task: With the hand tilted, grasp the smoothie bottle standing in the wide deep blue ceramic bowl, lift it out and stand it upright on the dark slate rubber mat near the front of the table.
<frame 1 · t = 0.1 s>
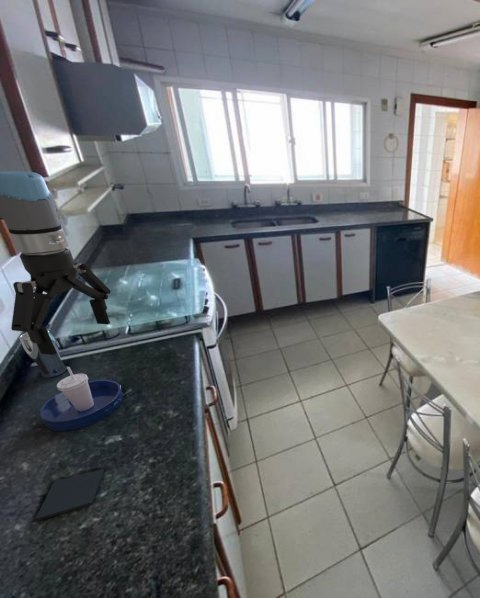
hand: (78, 337, 78), 30 cm above the table, tool pointing down, fingers open, 13 cm apart
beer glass: (55, 372, 109), on the table
smoothie: (85, 407, 96), resting on bowl
mat: (73, 494, 73), on the table
bowl: (86, 408, 96), on the table
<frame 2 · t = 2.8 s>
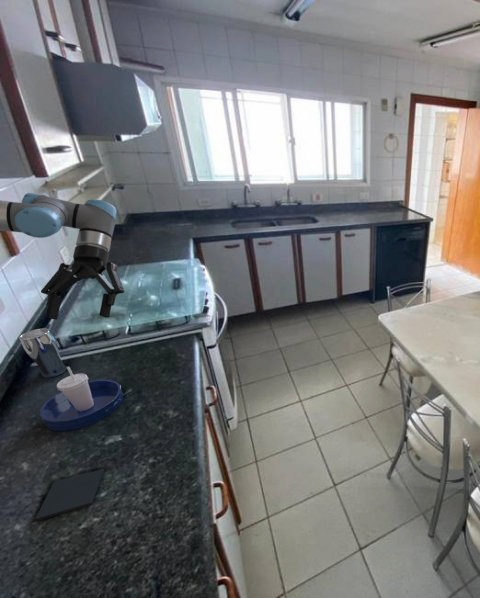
hand: (78, 317, 93), 25 cm above the table, tool tilted 40°, fingers open, 13 cm apart
nothing on the table moved.
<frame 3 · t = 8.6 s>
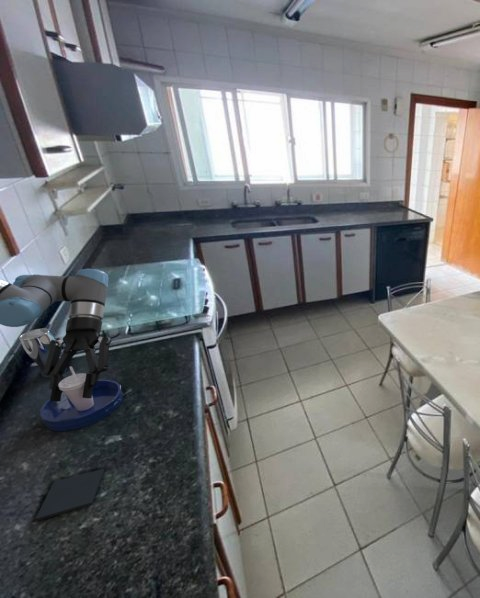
hand: (71, 399, 90), 6 cm above the table, tool tilted 45°, fingers closed on smoothie, 6 cm apart
smoothie: (85, 406, 96), resting on bowl, touching gripper
everything else where it was.
when the fingers open (7 cm above the table, at t = 18.5 s): smoothie stays where it is, resting on mat.
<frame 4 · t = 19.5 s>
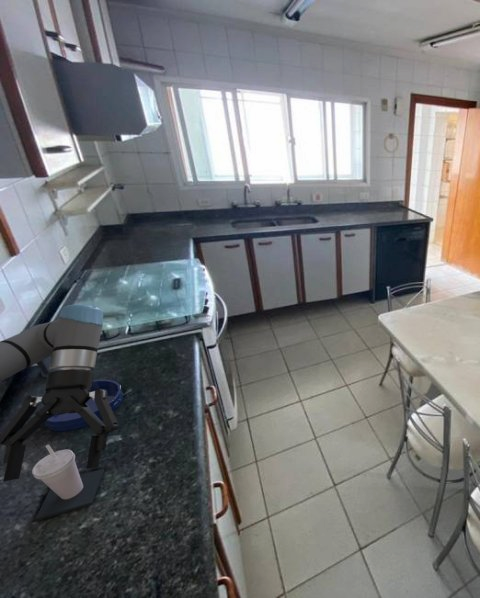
hand: (52, 474, 68), 9 cm above the table, tool tilted 45°, fingers open, 13 cm apart
smoothie: (72, 491, 73), point 1 cm above the table, touching mat
everything else where it was.
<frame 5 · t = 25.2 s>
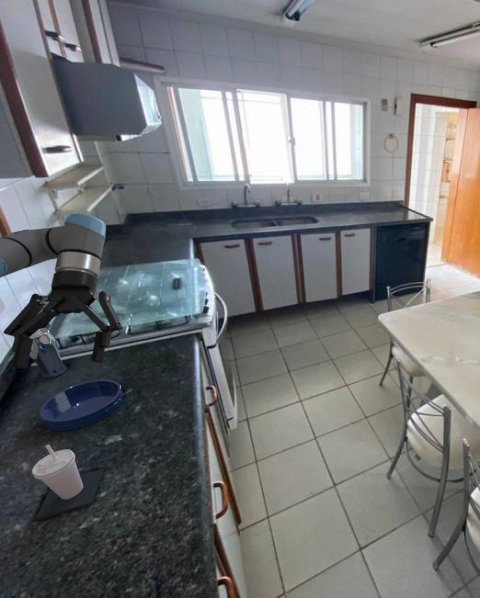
hand: (59, 364, 71), 28 cm above the table, tool tilted 45°, fingers open, 13 cm apart
nothing on the table moved.
at the end: smoothie inside the target area on the mat (0.1 cm from its centre), point 0.7 cm above the mat's base; smoothie tilted 3°; smoothie touching mat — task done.
